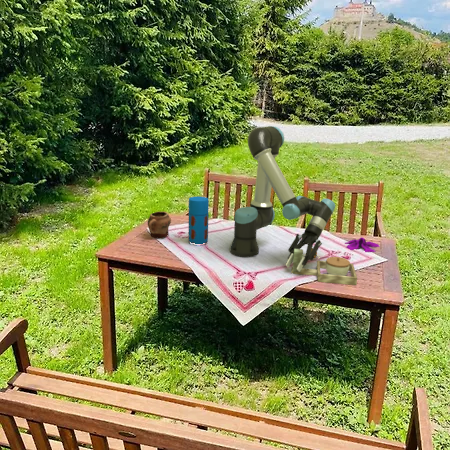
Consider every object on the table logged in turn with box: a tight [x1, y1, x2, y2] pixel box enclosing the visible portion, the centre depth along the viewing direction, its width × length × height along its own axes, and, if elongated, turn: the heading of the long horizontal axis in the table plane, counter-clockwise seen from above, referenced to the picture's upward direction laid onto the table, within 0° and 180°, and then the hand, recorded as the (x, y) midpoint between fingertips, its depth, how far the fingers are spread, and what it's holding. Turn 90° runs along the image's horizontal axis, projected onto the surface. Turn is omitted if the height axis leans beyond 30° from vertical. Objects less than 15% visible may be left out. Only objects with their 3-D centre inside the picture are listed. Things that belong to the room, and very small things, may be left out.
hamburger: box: [302, 247, 321, 261], centre depth 226 cm, size 12×12×6 cm
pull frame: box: [290, 248, 358, 286], centre depth 203 cm, size 29×17×11 cm, turn 80°
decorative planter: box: [147, 211, 172, 239], centre depth 247 cm, size 20×12×14 cm, turn 164°
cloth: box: [344, 236, 381, 253], centre depth 244 cm, size 22×19×6 cm
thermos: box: [188, 196, 210, 244], centre depth 239 cm, size 11×11×25 cm
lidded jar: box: [325, 256, 351, 276], centre depth 202 cm, size 11×11×9 cm
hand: (292, 268), depth 203 cm, fingers closed on pull frame, 6 cm apart
